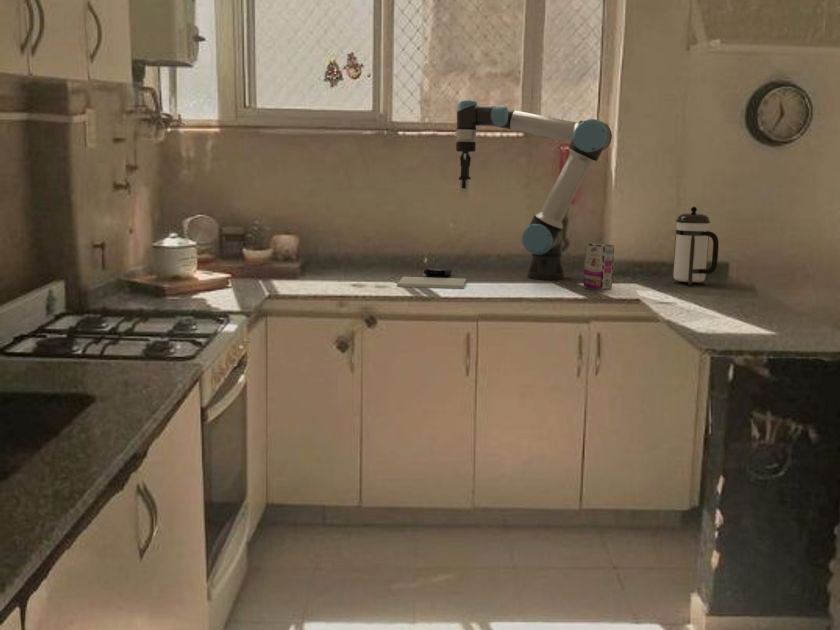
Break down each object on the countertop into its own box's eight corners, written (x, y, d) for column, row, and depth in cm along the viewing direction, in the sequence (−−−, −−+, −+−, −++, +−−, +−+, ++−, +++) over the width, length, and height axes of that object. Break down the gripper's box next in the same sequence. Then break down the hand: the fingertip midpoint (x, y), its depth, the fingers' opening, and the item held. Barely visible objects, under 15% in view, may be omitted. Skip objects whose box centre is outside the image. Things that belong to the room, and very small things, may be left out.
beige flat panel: (465, 281, 348) (465, 278, 348) (463, 288, 329) (463, 285, 329) (403, 279, 350) (403, 276, 350) (397, 286, 331) (397, 283, 331)
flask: (423, 268, 358) (431, 267, 368) (423, 276, 359) (431, 274, 369) (446, 270, 355) (453, 268, 366) (445, 277, 356) (453, 276, 366)
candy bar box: (612, 290, 335) (615, 245, 332) (601, 290, 332) (604, 245, 330) (593, 286, 344) (595, 242, 342) (582, 286, 342) (584, 242, 339)
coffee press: (668, 285, 351) (673, 206, 346) (669, 280, 366) (674, 205, 361) (715, 288, 346) (721, 208, 341) (715, 283, 361) (720, 206, 356)
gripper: (457, 141, 365) (456, 195, 369) (454, 140, 341) (453, 197, 344) (476, 142, 365) (475, 195, 368) (474, 140, 340) (472, 198, 344)
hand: (464, 196), depth 356 cm, fingers open, 13 cm apart
